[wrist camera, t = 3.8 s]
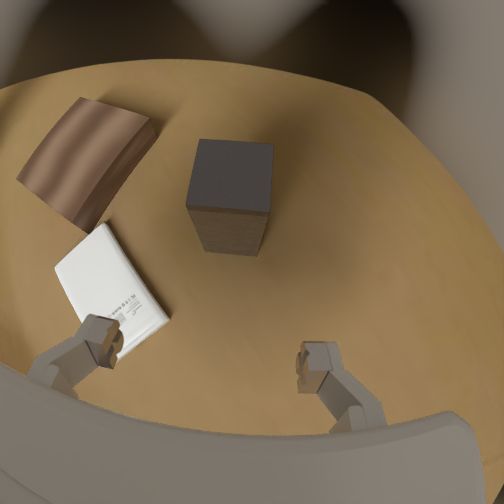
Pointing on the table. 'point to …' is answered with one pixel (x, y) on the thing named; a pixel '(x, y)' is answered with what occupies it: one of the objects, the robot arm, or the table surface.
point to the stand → (87, 159)
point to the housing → (231, 195)
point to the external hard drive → (110, 287)
